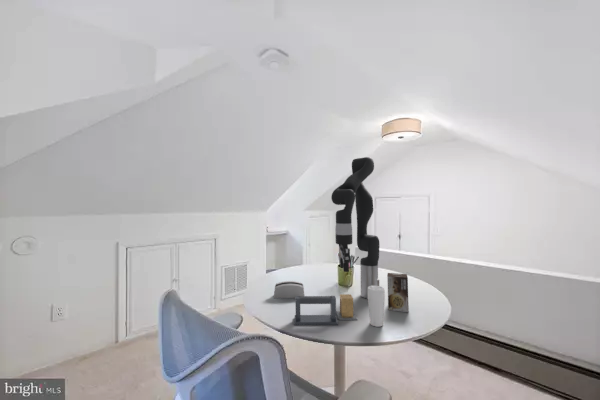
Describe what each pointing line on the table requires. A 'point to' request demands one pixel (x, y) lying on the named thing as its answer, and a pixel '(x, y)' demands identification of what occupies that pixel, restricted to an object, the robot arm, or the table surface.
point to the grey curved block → (288, 289)
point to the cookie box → (398, 292)
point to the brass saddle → (346, 305)
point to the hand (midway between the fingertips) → (344, 269)
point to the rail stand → (316, 319)
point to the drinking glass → (376, 305)
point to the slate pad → (345, 318)
